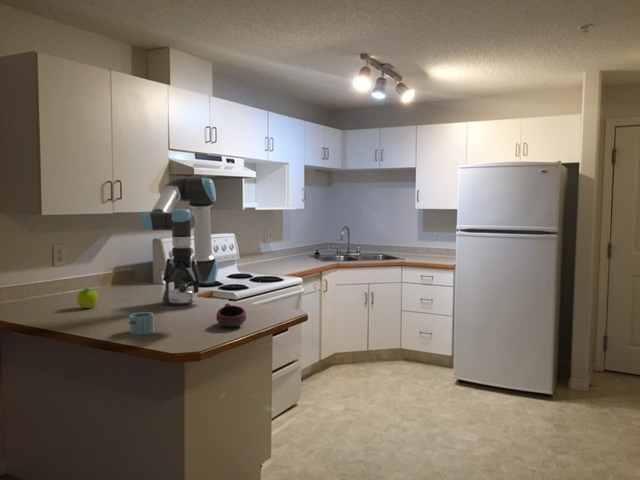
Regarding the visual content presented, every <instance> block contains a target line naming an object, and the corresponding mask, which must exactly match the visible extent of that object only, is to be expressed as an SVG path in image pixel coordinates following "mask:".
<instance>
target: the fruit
mask: <svg viewBox="0 0 640 480" xmlns="http://www.w3.org/2000/svg"><path fill="white" fill-rule="evenodd" d="M98 299H99V294H98V293H97V291H96V290H91V289H90V288H89V287H88V288H87V287H86V288H83V289H82V290H80V291H79V292H78V295H77V299H76V300H77V304H78V305H79V306H80V307H81V308H82V309H85V308H89V309H93V308H94V307H95V306H96V304H97V302H98Z"/></svg>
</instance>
